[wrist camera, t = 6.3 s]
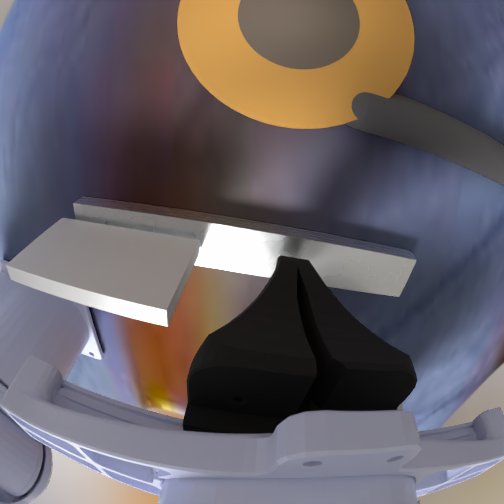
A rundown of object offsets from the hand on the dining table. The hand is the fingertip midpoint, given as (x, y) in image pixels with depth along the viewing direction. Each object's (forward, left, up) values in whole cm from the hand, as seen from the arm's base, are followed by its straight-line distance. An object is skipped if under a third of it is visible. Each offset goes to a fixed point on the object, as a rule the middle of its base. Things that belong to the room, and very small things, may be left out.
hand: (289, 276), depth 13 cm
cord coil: (-2, +10, -2) cm, 11 cm away
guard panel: (-8, 0, -1) cm, 8 cm away
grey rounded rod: (+7, +7, -2) cm, 11 cm away
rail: (-3, 0, -2) cm, 3 cm away
